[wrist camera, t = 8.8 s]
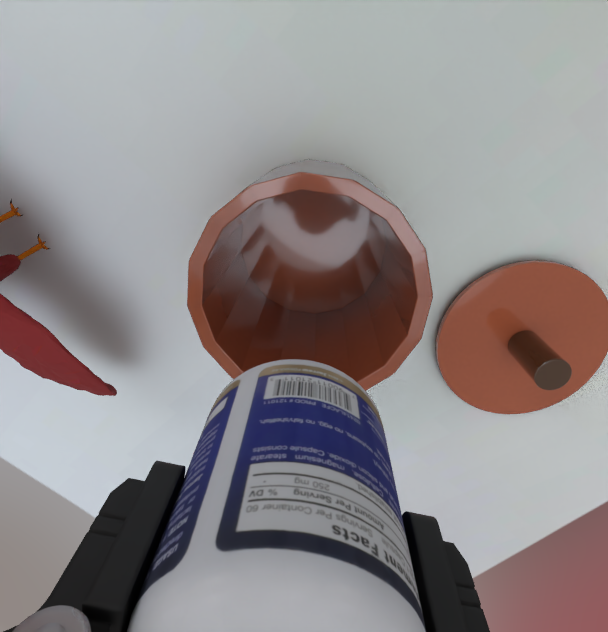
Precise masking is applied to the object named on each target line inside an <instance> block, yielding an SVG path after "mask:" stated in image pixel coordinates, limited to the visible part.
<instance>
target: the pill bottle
mask: <svg viewBox="0 0 608 632" xmlns="http://www.w3.org/2000/svg"><path fill="white" fill-rule="evenodd" d="M127 632H426V629H425V623H424V618H423V613H422V609H421V604H420V600H419V595H418V590H417V586H416V582H415V577H414V572H413V567H412V562H411V557H410V553H409V548H408V544H407V539H406V534H405V529H404V525H403V520H402V515H401V510H400V506H399V501H398V496H397V491H396V486H395V481H394V476H393V472H392V467H391V462H390V457H389V452H388V448H387V443H386V438H385V433H384V429H383V425H382V421H381V418H380V415H379V412H378V410H377V408H376V405H375V404H374V402H373V400H372V399H371V397H370V396H369V395H368V393H367V392H366V391H365V390H364V389H363V388H362V387H361V386H360V385H359V384H358V383H357V382H356V381H355V380H353V379H352V378H351V377H349V376H348V375H346V374H345V373H343V372H341V371H339V370H337V369H335V368H333V367H331V366H329V365H326V364H323V363H319V362H315V361H309V360H299V359H287V360H278V361H272V362H268V363H264V364H261V365H259V366H256V367H254V368H251V369H249V370H247V371H246V372H244V373H242V374H241V375H239V376H238V377H236V378H235V379H234V380H233V381H232V382H230V383H229V384H228V385H227V386H226V387H225V389H224V390H223V391H222V392H221V394H220V395H219V396H218V398H217V400H216V401H215V403H214V405H213V407H212V409H211V411H210V414H209V416H208V419H207V421H206V424H205V426H204V429H203V431H202V434H201V436H200V439H199V441H198V444H197V447H196V449H195V452H194V454H193V457H192V460H191V462H190V465H189V468H188V470H187V473H186V476H185V478H184V481H183V483H182V486H181V488H180V491H179V493H178V496H177V498H176V501H175V503H174V506H173V509H172V511H171V514H170V516H169V519H168V521H167V524H166V526H165V529H164V531H163V533H162V536H161V539H160V542H159V544H158V547H157V549H156V552H155V555H154V557H153V560H152V562H151V565H150V567H149V570H148V572H147V575H146V577H145V580H144V583H143V585H142V588H141V590H140V593H139V596H138V599H137V601H136V604H135V606H134V609H133V611H132V614H131V617H130V622H129V626H128V629H127Z"/></svg>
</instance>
